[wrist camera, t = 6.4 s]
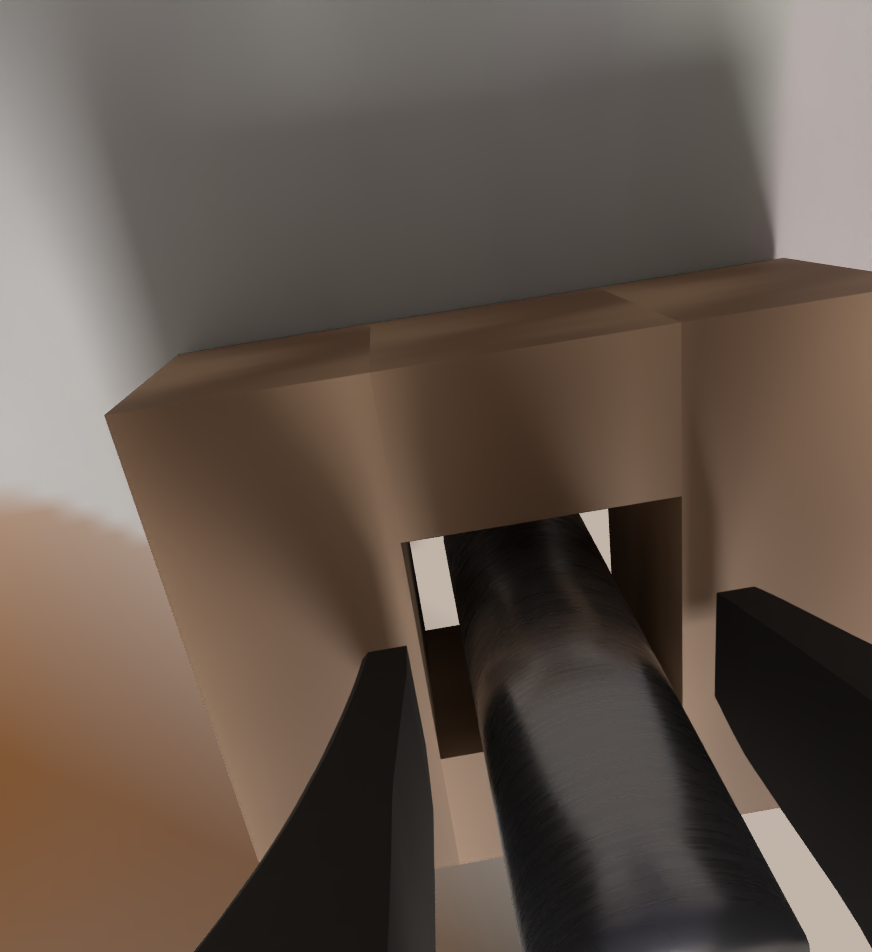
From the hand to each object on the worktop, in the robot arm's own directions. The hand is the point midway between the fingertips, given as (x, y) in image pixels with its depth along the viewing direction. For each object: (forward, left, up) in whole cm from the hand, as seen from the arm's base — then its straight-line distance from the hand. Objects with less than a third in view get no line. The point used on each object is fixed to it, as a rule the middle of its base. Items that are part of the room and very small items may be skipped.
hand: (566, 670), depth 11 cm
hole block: (0, 0, -5) cm, 5 cm away
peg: (0, 0, -5) cm, 5 cm away
